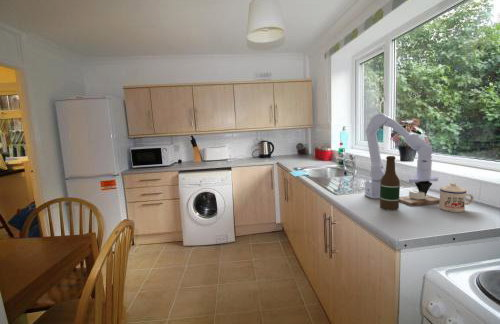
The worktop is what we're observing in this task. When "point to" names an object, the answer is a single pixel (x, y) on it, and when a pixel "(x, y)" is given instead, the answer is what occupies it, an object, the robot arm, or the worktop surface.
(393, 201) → the beer bottle
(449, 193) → the teacup with lid
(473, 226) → the worktop surface
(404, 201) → the console board
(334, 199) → the worktop surface
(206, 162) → the worktop surface
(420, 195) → the fader tab
